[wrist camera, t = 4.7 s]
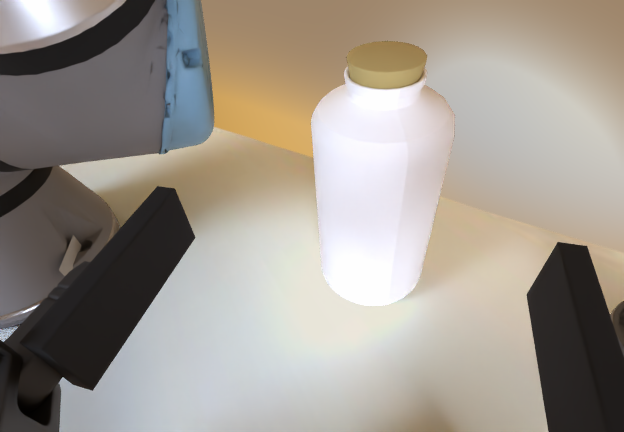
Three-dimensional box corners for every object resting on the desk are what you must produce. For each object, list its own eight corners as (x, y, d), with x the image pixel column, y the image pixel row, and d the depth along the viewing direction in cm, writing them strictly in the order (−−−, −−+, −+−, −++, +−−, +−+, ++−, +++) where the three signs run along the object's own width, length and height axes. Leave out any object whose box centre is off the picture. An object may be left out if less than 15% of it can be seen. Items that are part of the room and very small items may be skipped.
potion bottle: (325, 231, 35) (315, 29, 22) (415, 235, 34) (457, 25, 21) (316, 308, 29) (294, 93, 16) (424, 316, 28) (489, 92, 15)
